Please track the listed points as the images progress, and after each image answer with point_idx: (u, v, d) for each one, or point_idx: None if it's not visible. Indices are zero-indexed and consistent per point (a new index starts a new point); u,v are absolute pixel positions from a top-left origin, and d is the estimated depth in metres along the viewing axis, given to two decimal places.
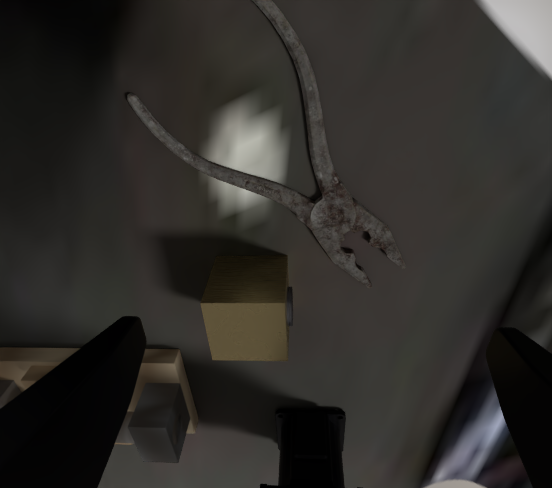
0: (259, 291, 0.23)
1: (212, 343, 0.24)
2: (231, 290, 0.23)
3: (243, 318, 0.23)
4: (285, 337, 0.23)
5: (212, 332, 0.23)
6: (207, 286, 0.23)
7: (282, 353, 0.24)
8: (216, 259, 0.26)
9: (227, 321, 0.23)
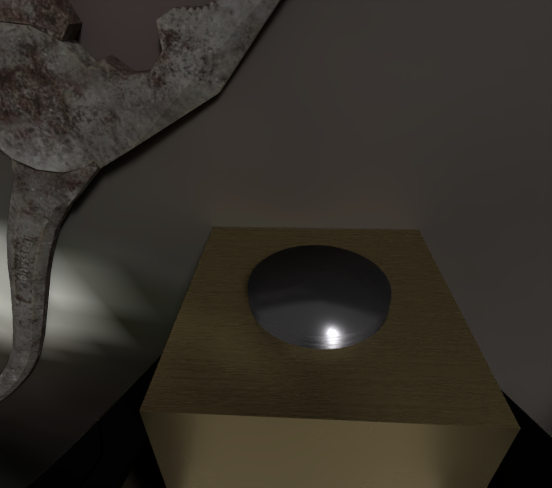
0: None
1: None
2: None
3: None
4: (349, 423, 0.05)
5: None
6: None
7: (457, 439, 0.05)
8: None
9: None
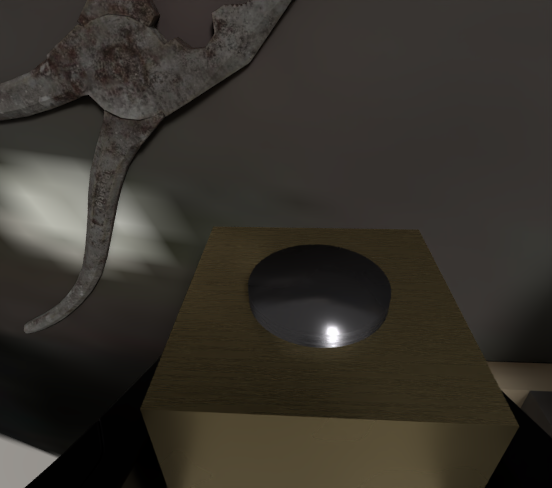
0: None
1: None
2: None
3: None
4: (348, 421, 0.05)
5: None
6: None
7: (456, 437, 0.05)
8: None
9: None
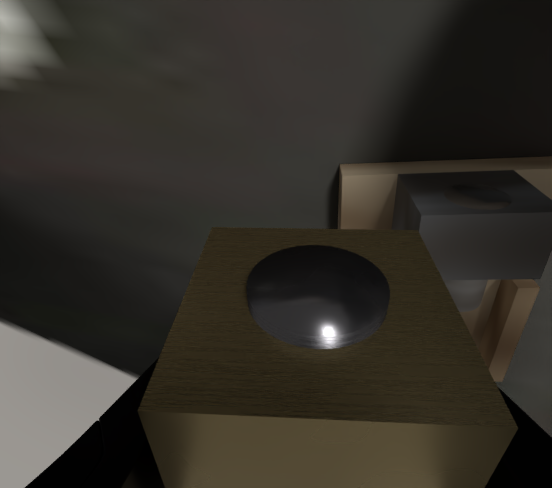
0: None
1: None
2: None
3: None
4: (347, 423, 0.05)
5: None
6: None
7: (455, 439, 0.05)
8: None
9: None
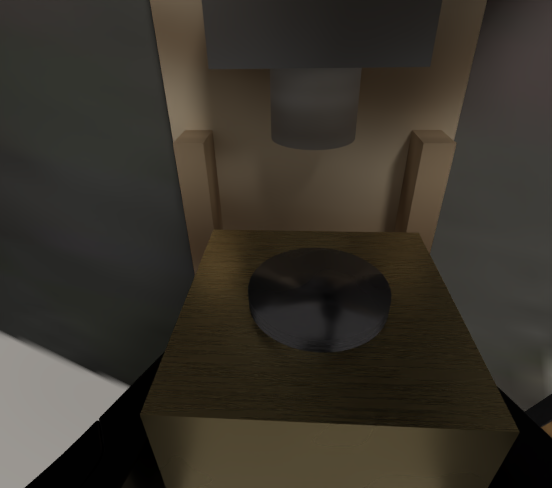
0: None
1: None
2: None
3: None
4: (349, 426, 0.05)
5: None
6: None
7: (456, 443, 0.05)
8: None
9: None
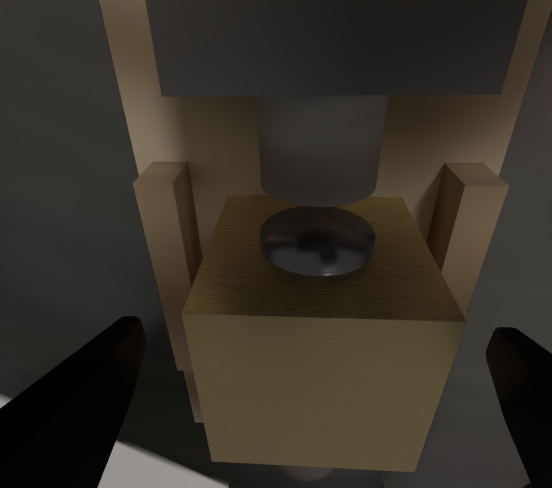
0: None
1: (349, 463, 0.09)
2: None
3: (255, 403, 0.08)
4: (339, 320, 0.07)
5: (308, 458, 0.09)
6: None
7: (420, 334, 0.07)
8: None
9: (269, 430, 0.09)
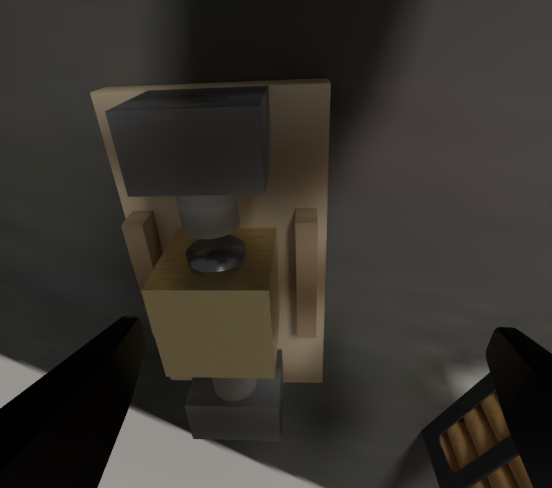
0: None
1: (239, 374, 0.17)
2: None
3: (183, 338, 0.16)
4: (213, 291, 0.14)
5: (217, 372, 0.17)
6: None
7: (250, 297, 0.14)
8: None
9: (193, 354, 0.16)
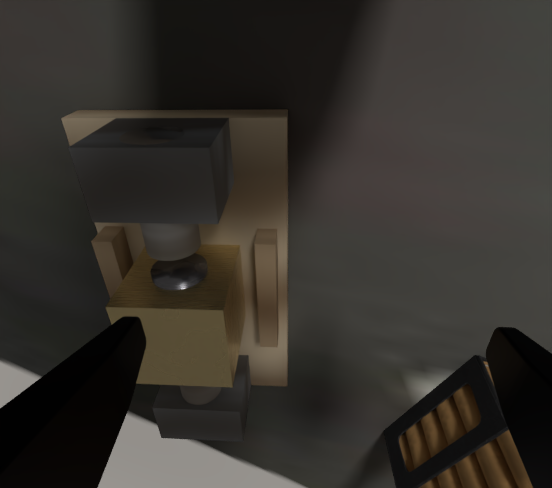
0: None
1: (199, 383, 0.18)
2: None
3: (146, 349, 0.17)
4: (171, 310, 0.16)
5: (179, 380, 0.18)
6: None
7: (206, 315, 0.16)
8: None
9: (156, 364, 0.18)
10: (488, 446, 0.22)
